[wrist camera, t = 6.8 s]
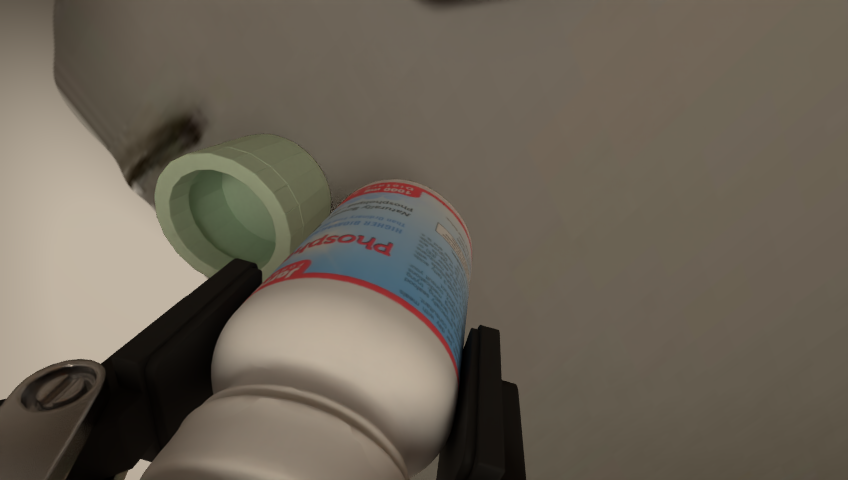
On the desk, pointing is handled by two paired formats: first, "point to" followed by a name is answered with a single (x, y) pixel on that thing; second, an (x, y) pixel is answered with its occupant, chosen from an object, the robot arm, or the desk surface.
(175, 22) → the desk surface
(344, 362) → the pill bottle
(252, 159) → the green cylindrical sleeve
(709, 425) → the desk surface
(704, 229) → the desk surface
